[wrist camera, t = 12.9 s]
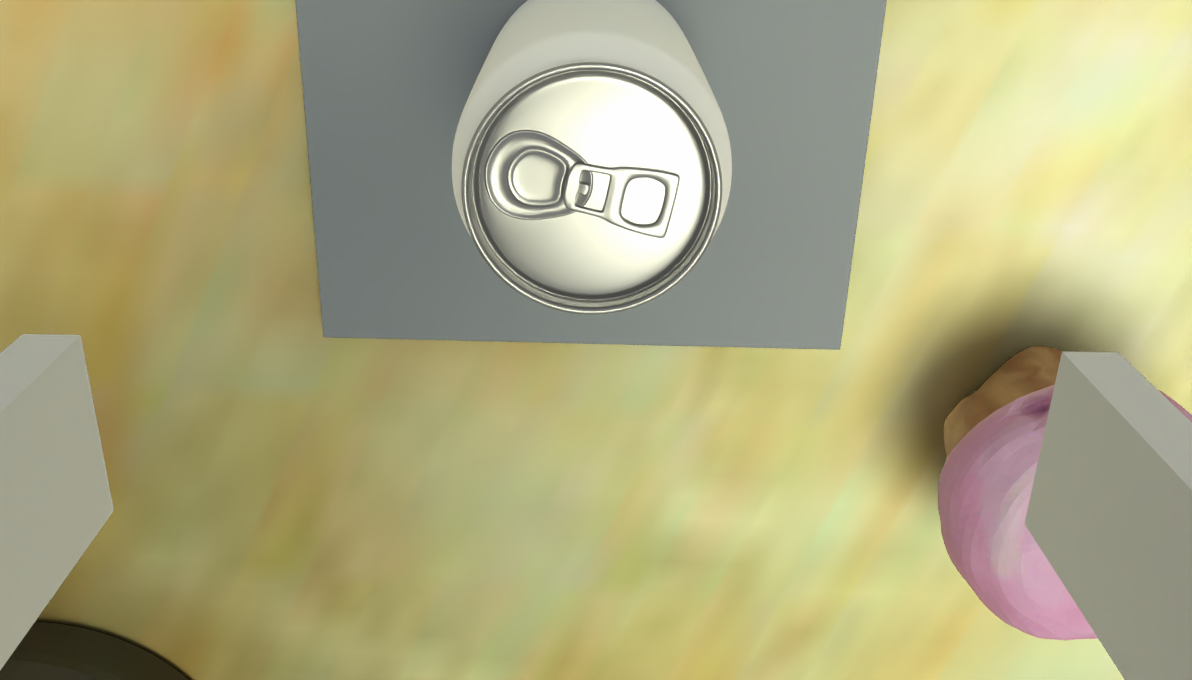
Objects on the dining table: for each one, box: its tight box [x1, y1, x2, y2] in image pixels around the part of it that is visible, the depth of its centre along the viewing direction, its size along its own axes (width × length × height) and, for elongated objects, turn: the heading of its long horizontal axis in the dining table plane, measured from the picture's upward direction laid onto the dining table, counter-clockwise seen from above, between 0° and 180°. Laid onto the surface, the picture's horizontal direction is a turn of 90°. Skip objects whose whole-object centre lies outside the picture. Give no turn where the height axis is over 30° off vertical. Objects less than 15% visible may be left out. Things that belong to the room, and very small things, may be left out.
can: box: [452, 0, 732, 315], centre depth 29 cm, size 6×6×12 cm
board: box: [296, 0, 887, 350], centre depth 35 cm, size 18×18×1 cm
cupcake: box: [938, 346, 1192, 640], centre depth 36 cm, size 9×9×10 cm
